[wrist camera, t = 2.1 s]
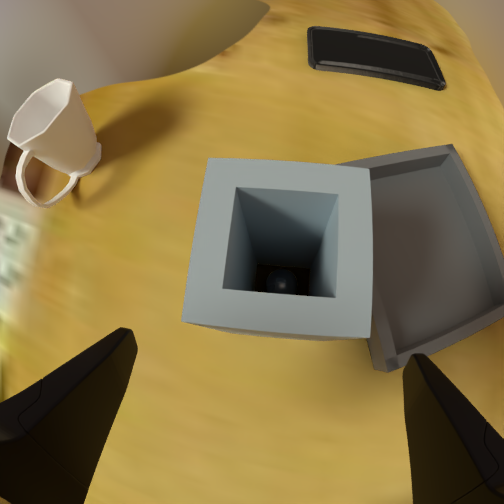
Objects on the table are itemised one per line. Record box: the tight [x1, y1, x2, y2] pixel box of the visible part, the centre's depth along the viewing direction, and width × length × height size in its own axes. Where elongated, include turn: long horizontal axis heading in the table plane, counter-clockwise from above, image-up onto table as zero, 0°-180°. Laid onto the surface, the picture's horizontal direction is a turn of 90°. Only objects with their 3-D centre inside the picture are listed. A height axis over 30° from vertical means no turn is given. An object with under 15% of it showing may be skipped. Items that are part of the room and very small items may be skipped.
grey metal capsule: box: [266, 269, 297, 295], centre depth 19 cm, size 2×2×3 cm
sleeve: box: [181, 158, 373, 341], centre depth 16 cm, size 8×6×11 cm
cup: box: [7, 78, 102, 208], centre depth 21 cm, size 7×10×8 cm
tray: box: [336, 144, 504, 372], centre depth 19 cm, size 14×12×3 cm
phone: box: [307, 26, 446, 91], centre depth 27 cm, size 8×1×15 cm
